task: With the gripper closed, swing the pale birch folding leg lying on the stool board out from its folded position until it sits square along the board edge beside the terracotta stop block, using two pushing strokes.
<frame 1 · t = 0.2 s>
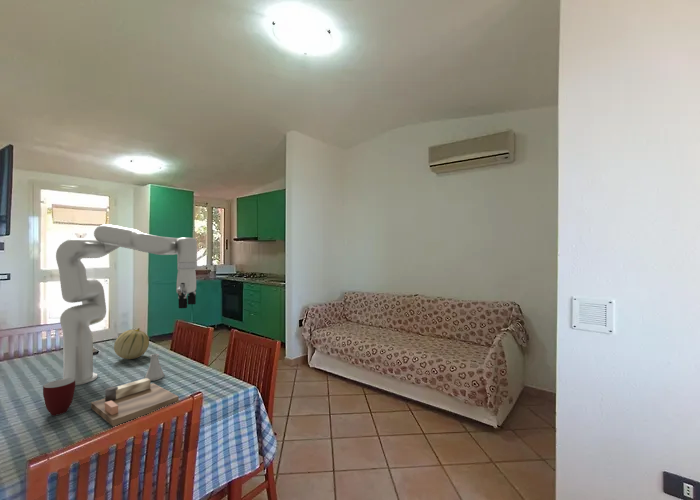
hand: (187, 306, 138), 31 cm above the table, tool pointing down, fingers open, 9 cm apart
mug: (58, 412, 109), on the table
leg stop: (111, 411, 105), resting on stool seat board
folding leg: (128, 388, 118), point 4 cm above the table, hinge at 90.0°
flask: (154, 378, 138), on the table
stool seat board: (135, 405, 114), on the table
cantaloupe: (132, 358, 164), on the table
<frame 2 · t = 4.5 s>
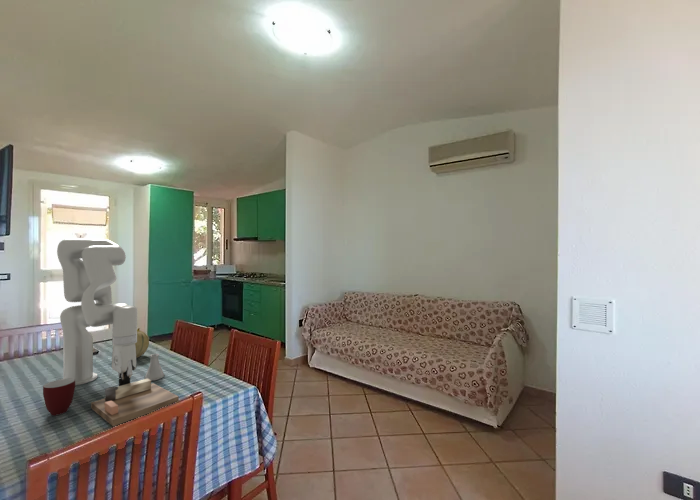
hand: (124, 388, 120), 3 cm above the table, tool pointing down, fingers closed
folding leg: (128, 388, 118), point 4 cm above the table, hinge at 86.1°, touching gripper
everything else where it was.
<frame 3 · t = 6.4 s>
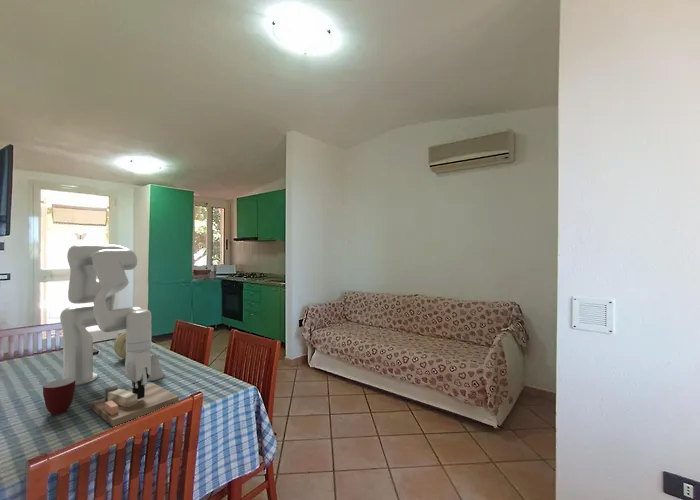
hand: (138, 398, 112), 3 cm above the table, tool pointing down, fingers closed
folding leg: (120, 396, 111), point 4 cm above the table, hinge at 10.7°, touching gripper
everything else where it was.
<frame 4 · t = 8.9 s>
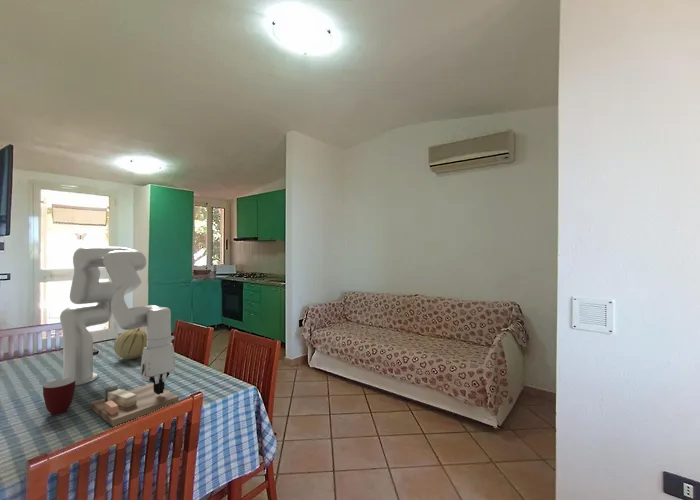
hand: (158, 392, 116), 3 cm above the table, tool pointing down, fingers closed
folding leg: (119, 396, 111), point 4 cm above the table, hinge at 9.5°
everything else where it was.
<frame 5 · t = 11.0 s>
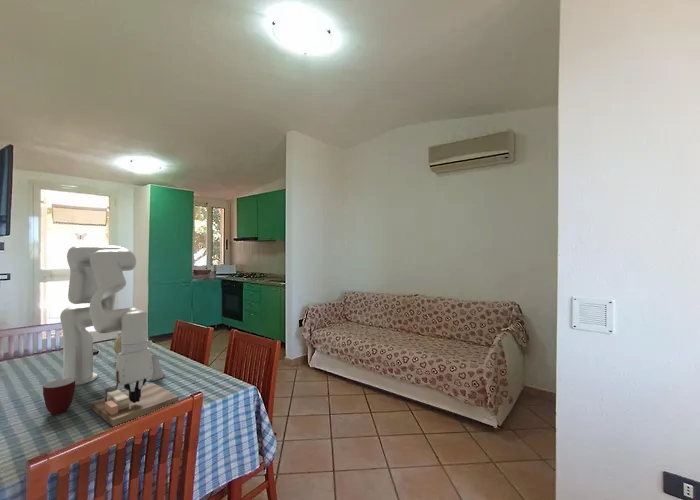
hand: (135, 401, 110), 3 cm above the table, tool pointing down, fingers closed
folding leg: (116, 397, 110), point 4 cm above the table, hinge at -2.0°, touching gripper
everything else where it was.
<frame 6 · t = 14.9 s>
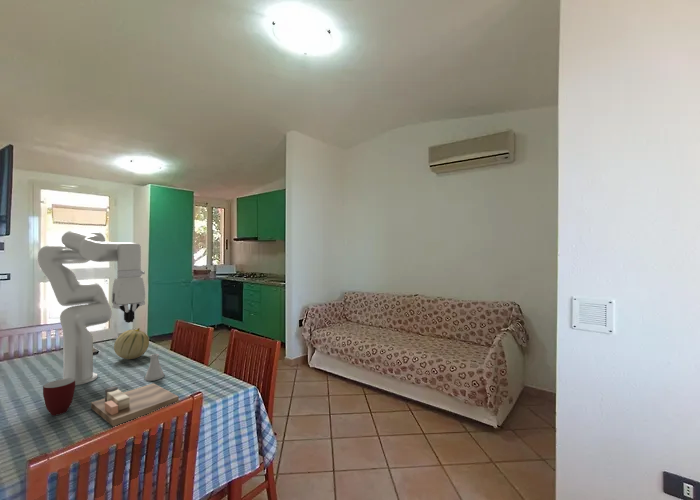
hand: (129, 321, 124), 27 cm above the table, tool pointing down, fingers closed
folding leg: (116, 397, 110), point 4 cm above the table, hinge at -1.4°
everything else where it was.
at the end: folding leg at -1° (first picture: +90°) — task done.
